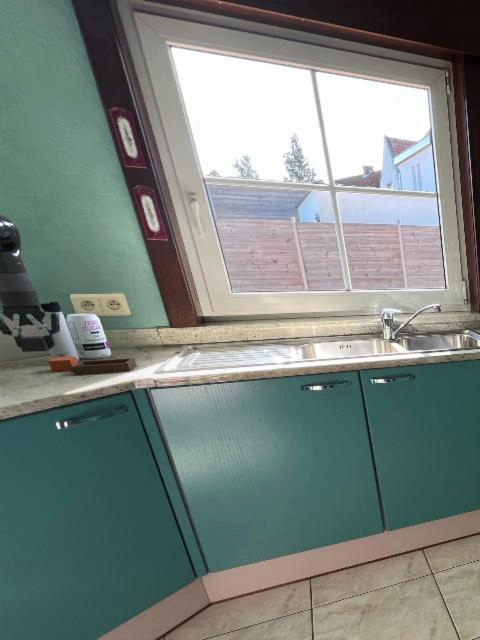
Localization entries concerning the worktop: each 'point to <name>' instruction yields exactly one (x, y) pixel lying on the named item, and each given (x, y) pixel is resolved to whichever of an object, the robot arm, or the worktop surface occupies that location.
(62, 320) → the travel mug
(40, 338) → the pad
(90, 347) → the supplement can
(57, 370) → the pad
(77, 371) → the tray
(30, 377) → the worktop surface
